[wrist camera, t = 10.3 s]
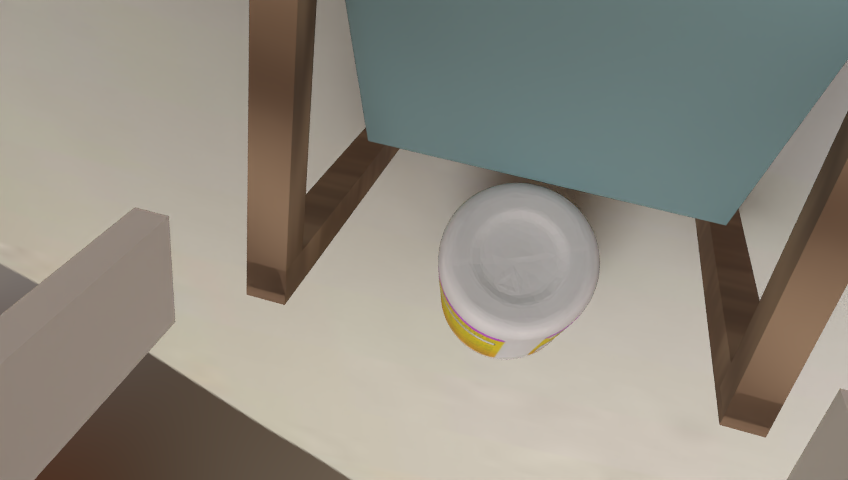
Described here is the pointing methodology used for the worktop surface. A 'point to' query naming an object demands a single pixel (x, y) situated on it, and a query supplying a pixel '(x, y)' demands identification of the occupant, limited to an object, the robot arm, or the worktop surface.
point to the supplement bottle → (516, 269)
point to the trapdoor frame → (718, 244)
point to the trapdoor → (600, 89)
